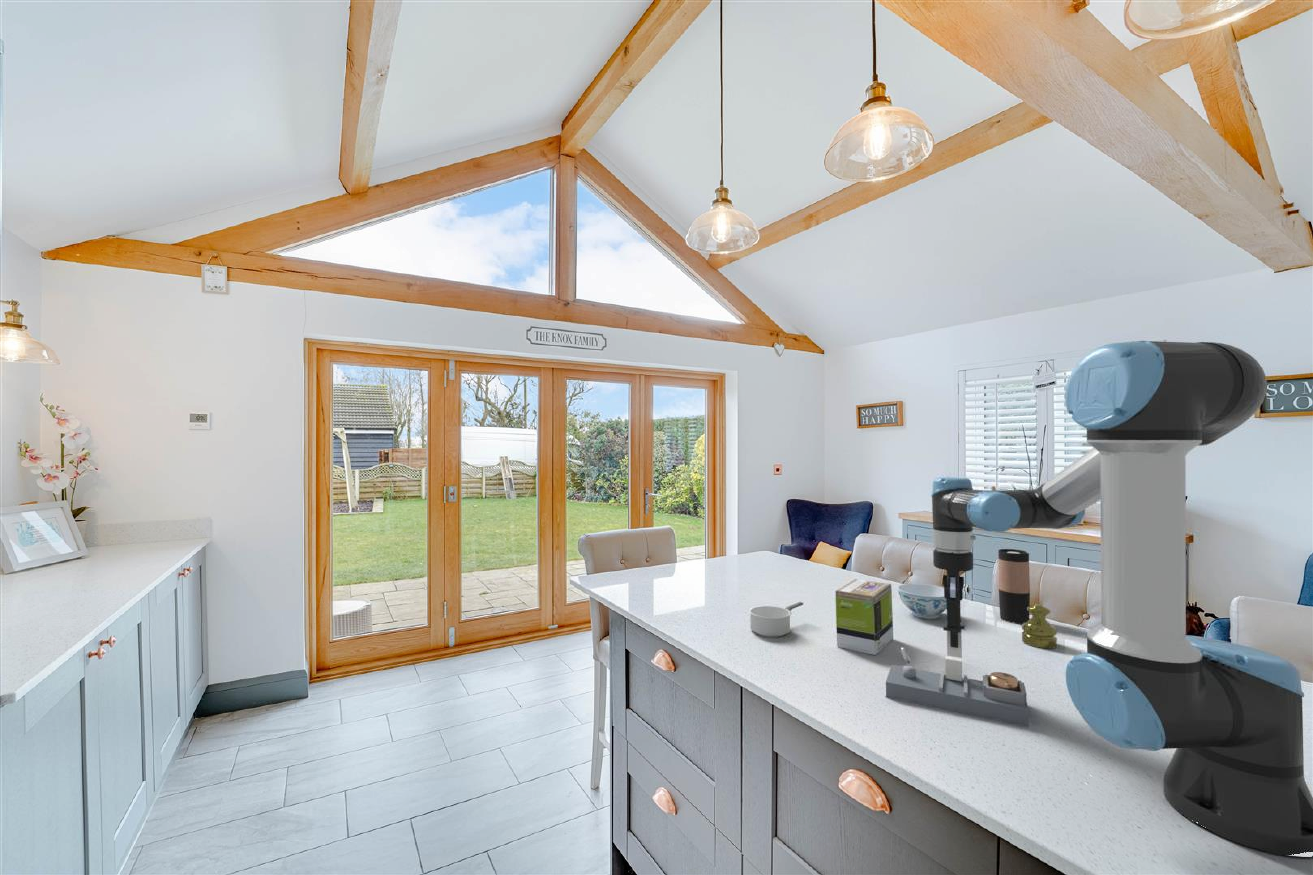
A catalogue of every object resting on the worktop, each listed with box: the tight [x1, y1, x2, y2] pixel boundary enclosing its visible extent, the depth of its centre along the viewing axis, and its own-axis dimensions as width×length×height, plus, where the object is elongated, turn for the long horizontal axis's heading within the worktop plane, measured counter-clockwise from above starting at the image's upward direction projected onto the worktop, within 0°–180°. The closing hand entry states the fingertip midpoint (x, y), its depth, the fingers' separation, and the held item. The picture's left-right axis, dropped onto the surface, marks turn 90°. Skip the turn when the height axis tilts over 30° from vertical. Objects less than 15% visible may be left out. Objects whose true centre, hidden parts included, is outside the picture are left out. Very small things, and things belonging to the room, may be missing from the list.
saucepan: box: [748, 601, 804, 638], centre depth 152 cm, size 12×20×6 cm, turn 129°
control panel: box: [885, 664, 1030, 727], centre depth 108 cm, size 10×24×5 cm, turn 60°
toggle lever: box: [900, 647, 911, 665], centre depth 113 cm, size 1×1×3 cm
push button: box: [989, 671, 1018, 692], centre depth 104 cm, size 4×4×2 cm
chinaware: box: [897, 583, 947, 620], centre depth 163 cm, size 15×15×8 cm
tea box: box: [835, 578, 894, 656], centre depth 140 cm, size 15×10×15 cm, turn 141°
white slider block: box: [944, 655, 963, 681], centre depth 111 cm, size 2×3×4 cm, turn 60°
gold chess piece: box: [1021, 603, 1058, 650], centre depth 139 cm, size 7×7×10 cm
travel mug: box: [998, 548, 1031, 624], centre depth 159 cm, size 8×8×20 cm
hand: (954, 660), depth 115 cm, fingers closed
